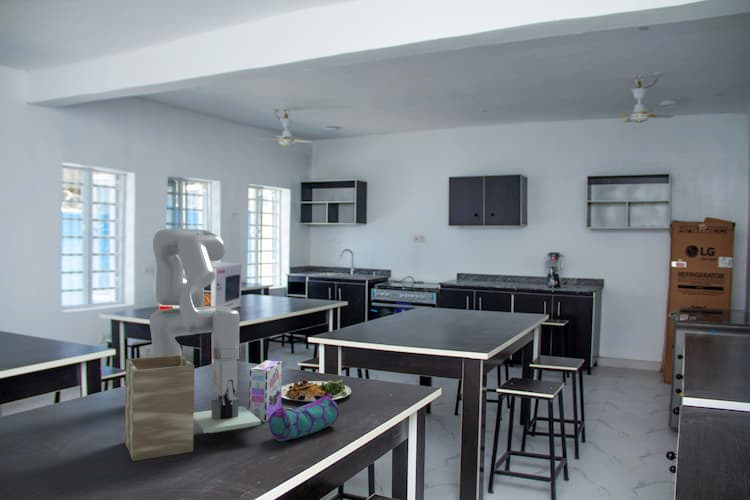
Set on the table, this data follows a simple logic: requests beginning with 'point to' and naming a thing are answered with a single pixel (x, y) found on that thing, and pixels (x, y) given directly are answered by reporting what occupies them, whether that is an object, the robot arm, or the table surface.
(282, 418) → the pencil case
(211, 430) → the lid
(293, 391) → the plate of food
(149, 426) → the crate
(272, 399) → the candy box
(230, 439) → the table surface
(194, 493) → the table surface
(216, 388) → the robot arm
